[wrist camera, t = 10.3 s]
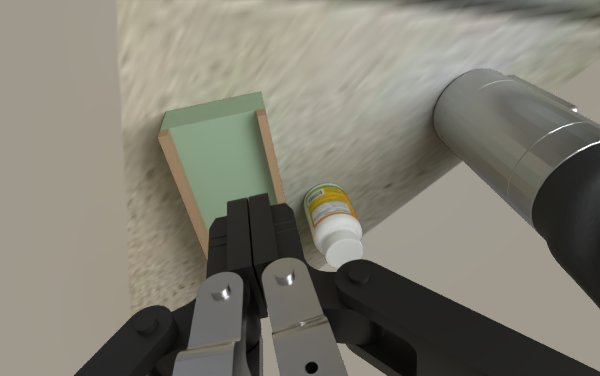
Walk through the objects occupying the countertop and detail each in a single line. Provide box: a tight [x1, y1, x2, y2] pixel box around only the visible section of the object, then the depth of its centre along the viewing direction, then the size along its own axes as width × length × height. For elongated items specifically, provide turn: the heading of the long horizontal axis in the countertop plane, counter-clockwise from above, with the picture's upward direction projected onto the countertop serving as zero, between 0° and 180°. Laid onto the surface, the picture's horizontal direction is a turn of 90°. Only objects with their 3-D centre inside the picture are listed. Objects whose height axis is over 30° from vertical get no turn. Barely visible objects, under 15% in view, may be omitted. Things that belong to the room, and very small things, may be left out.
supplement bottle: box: [304, 183, 363, 268], centre depth 44 cm, size 5×5×10 cm
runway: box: [158, 92, 286, 260], centre depth 43 cm, size 10×22×6 cm, turn 9°
